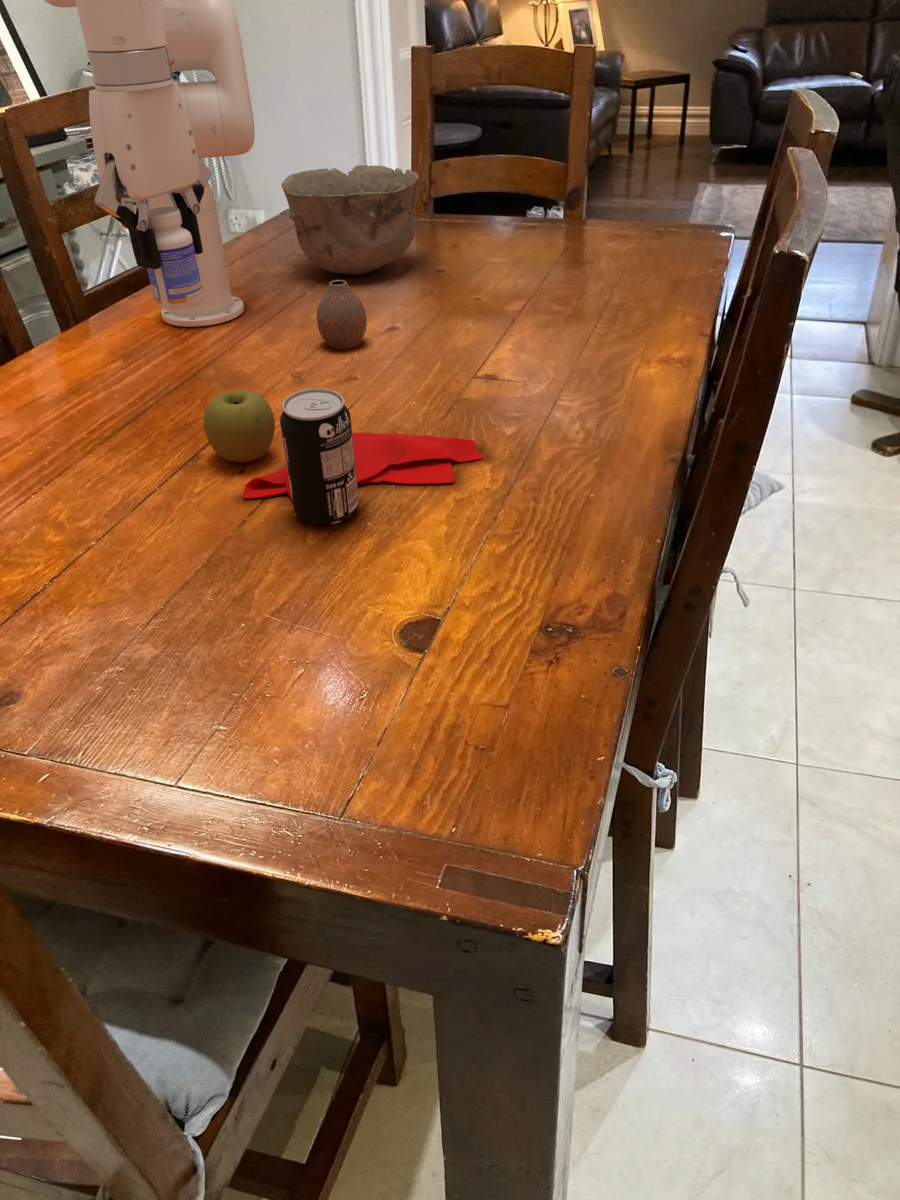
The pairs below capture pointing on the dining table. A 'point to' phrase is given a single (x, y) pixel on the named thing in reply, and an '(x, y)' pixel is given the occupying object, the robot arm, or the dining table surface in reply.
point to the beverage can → (319, 455)
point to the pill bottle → (174, 261)
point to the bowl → (353, 216)
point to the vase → (341, 316)
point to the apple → (239, 425)
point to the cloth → (387, 462)
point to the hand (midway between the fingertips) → (170, 257)
